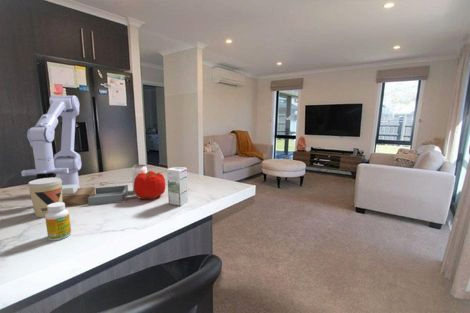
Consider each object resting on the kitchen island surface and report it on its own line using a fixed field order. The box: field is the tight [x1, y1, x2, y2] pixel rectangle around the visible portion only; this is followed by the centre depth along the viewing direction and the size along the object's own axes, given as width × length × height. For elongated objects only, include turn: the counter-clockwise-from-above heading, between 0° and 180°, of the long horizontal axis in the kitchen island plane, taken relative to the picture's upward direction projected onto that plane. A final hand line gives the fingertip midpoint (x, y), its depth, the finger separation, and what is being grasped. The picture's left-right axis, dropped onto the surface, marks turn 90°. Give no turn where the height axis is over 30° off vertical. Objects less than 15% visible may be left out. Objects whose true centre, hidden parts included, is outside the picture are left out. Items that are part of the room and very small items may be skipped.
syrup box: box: [166, 166, 189, 207], centre depth 92 cm, size 6×6×14 cm
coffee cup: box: [27, 177, 62, 218], centre depth 83 cm, size 9×9×12 cm
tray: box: [88, 184, 129, 206], centre depth 100 cm, size 13×14×3 cm
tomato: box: [133, 170, 166, 200], centre depth 100 cm, size 14×13×10 cm
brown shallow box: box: [62, 186, 96, 207], centre depth 95 cm, size 13×10×4 cm
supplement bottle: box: [44, 202, 72, 241], centre depth 67 cm, size 5×5×10 cm
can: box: [131, 164, 148, 192], centre depth 108 cm, size 6×6×12 cm
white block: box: [62, 184, 78, 195], centre depth 94 cm, size 6×6×2 cm
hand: (48, 192), depth 92 cm, fingers closed
